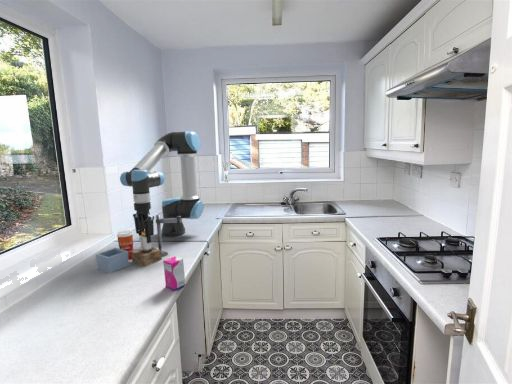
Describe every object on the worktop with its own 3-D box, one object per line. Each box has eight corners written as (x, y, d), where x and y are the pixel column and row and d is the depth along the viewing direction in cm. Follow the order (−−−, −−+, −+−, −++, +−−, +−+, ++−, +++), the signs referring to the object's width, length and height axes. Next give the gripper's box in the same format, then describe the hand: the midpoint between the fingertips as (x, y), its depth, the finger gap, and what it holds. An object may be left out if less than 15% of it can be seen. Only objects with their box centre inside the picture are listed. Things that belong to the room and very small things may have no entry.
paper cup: (117, 262, 146) (115, 235, 144) (120, 256, 154) (117, 230, 152) (134, 260, 148) (132, 233, 146) (136, 255, 156) (134, 229, 154)
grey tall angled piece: (158, 253, 153) (155, 216, 150) (159, 251, 155) (156, 214, 152) (182, 252, 153) (180, 215, 150) (183, 250, 156) (181, 214, 153)
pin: (147, 259, 150) (145, 230, 147) (151, 260, 148) (149, 231, 146) (142, 261, 147) (140, 232, 145) (146, 262, 145) (144, 233, 143)
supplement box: (177, 281, 124) (175, 255, 122) (185, 285, 120) (184, 258, 118) (165, 286, 120) (162, 260, 118) (173, 291, 116) (171, 263, 114)
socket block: (149, 255, 154) (148, 246, 154) (161, 259, 149) (161, 249, 148) (132, 262, 146) (131, 252, 145) (144, 266, 141) (144, 256, 140)
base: (161, 252, 158) (161, 250, 158) (168, 254, 155) (167, 252, 155) (153, 255, 154) (153, 253, 154) (160, 257, 151) (160, 255, 151)
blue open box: (117, 261, 148) (115, 247, 147) (129, 265, 143) (127, 251, 141) (97, 268, 140) (95, 254, 139) (109, 272, 134) (107, 258, 133)
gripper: (125, 201, 144) (129, 247, 148) (146, 204, 135) (150, 253, 139) (138, 199, 150) (142, 243, 154) (159, 201, 141) (163, 248, 145)
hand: (146, 248), depth 146 cm, fingers closed on pin, 3 cm apart
